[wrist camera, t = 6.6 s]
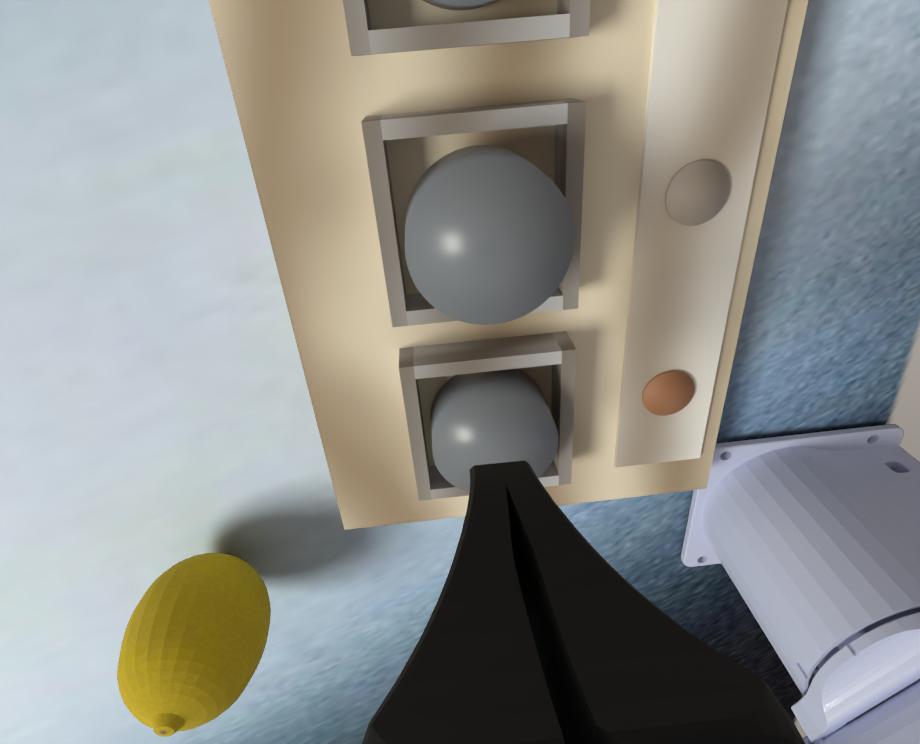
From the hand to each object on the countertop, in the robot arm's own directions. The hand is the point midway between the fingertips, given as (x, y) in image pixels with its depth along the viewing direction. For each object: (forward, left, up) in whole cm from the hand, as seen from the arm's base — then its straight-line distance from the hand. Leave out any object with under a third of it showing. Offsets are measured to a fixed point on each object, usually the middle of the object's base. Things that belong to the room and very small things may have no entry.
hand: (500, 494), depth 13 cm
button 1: (0, +3, -7) cm, 8 cm away
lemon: (+13, +11, -10) cm, 19 cm away
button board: (-2, -5, -10) cm, 11 cm away
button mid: (0, -5, -6) cm, 8 cm away
